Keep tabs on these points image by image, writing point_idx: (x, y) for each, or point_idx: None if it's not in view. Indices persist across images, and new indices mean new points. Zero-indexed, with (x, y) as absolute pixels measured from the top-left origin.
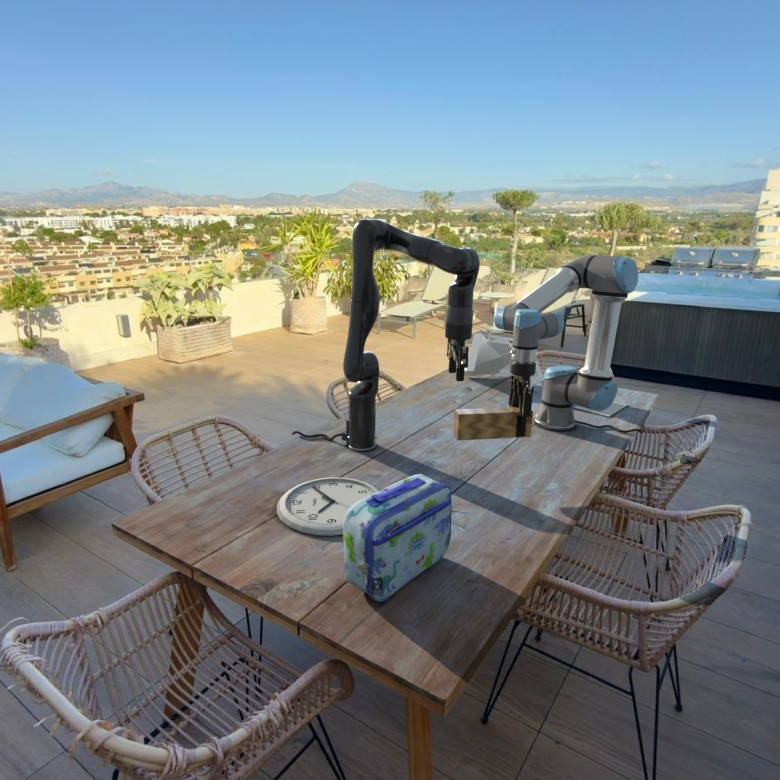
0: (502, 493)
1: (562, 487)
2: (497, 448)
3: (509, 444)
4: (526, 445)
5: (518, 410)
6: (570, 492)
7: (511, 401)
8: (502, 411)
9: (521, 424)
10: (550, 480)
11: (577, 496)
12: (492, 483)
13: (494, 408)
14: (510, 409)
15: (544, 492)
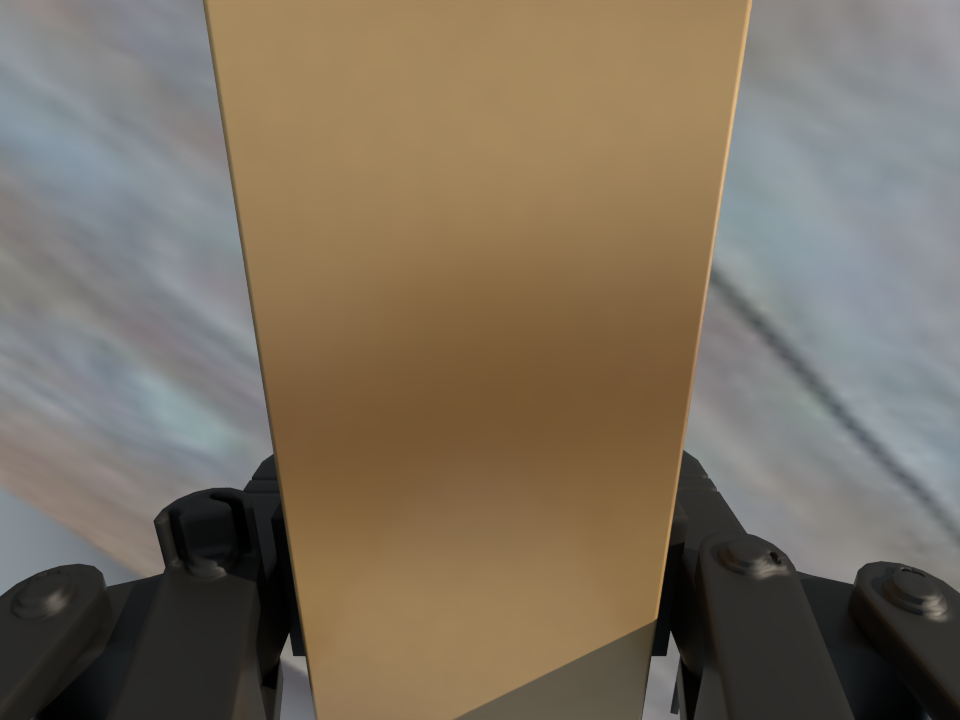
0: (26, 30)
1: (167, 461)
2: (789, 278)
3: (826, 389)
4: (771, 488)
5: (401, 631)
6: (109, 477)
7: (842, 698)
8: (346, 207)
9: (250, 480)
10: (254, 433)
11: (65, 491)
12: (187, 5)
13: (677, 16)
14: (495, 489)
15: (88, 337)
